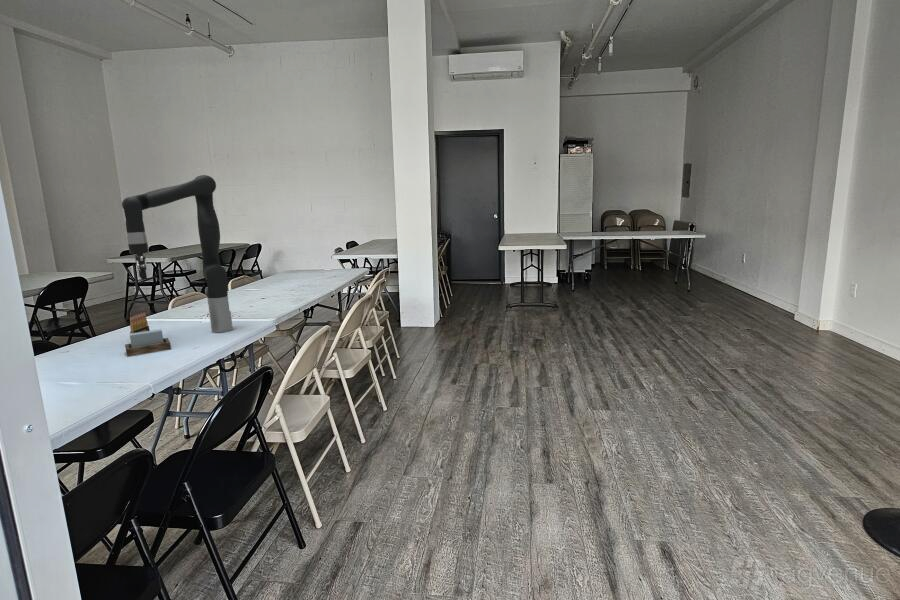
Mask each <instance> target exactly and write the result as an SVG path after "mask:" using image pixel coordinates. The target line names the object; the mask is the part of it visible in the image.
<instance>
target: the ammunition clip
mask: <svg viewBox="0 0 900 600" xmlns="http://www.w3.org/2000/svg"><path fill="white" fill-rule="evenodd" d="M129 323H130V324H129V326H130V332H129V334H131V333H138V332H145V331H151V330H150V326H149V324H148V319H147V314H146V313H145V312H143V313H142V312H141V313H137V314H135V315H132V316H130V317H129Z"/></svg>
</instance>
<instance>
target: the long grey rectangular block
mask: <svg viewBox="0 0 900 600" xmlns="http://www.w3.org/2000/svg"><path fill="white" fill-rule="evenodd" d="M163 338H164V335H163V330H162V329H161V328H160V329H154V330H150V331H145V332H138V333H129V339H130V344H131V347H132V348H134V347H140V346H146V345H152V344H158V343H164V341H163Z"/></svg>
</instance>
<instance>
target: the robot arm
mask: <svg viewBox="0 0 900 600" xmlns="http://www.w3.org/2000/svg"><path fill="white" fill-rule="evenodd" d="M216 189H217V183H216V181H215V179H214V178H213V177H211V176H209V175H206V174H202V175H198V176H196V177H195V178H193V179H192V180H190V181H188V182H184V183H181V184H176V185H172V186H166V187H162V188H157V189H154V190H150V191H148V192H145V193H143V194H138V195H137V194H136V195H132V196H128V197H125V198H124V199H123V200H122V202H121V206H122V209H123V211H124V217H125V230H126V240H127V241H126V242H127V247H128V253H129V254H131V255H134V256H135V257H134V262H135V265H136V267H137V270H138V277H139V278H140V279H141V280H148V277H147V262H146V261H147V259H146V256H144V254H148V253H149V252H150V250H149V243H148V238H147V234H146V228H145V223H144V216H143V211H145V210H148V209H150V208H156V207H157V208H158V207H160V206H164V205H168V204H171V203H174V202H176V201H179V200H182V199H185V198H191V197H194V198H195V203H196V212H197V213H196V214H197V216H196V218H197V230H198V237H199V241H200V242H199V243H200V247H201V253H202V275H203V277H204V279H205V281H206V283H207V284H206V286H207V291H206V296H207V306H208V314H209V321H210V329H211V333H215V334H217V333H225V332H226V333H227V332H229V331H233V330H234V329H233V320H232V318H233V317H232V311H231V310H230V303H229V296H228V292H229V286H228V285H229V282H228V274H227V270H226V269H225V267H223V266H222V265H221V261H220V254H219V253H220V252H219V250H220V243H221V231H220V223H219V220H218V216H217V213H216V210H215V207H214V195H213V194H214V192H215V191H216Z"/></svg>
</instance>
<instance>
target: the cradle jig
mask: <svg viewBox="0 0 900 600" xmlns="http://www.w3.org/2000/svg"><path fill="white" fill-rule="evenodd" d="M163 341H164V343H158V344H152V345H146V346H140V347H134V348H132V347H131V343H126V344H124V347H125V352H126V356H127V357H133V356H138V355H139V356H140V355H145V354H151V353H156V352H163V351H168V350H172V346H171V345H172V344H171V341H170V340H169V338H168V337H163Z"/></svg>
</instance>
